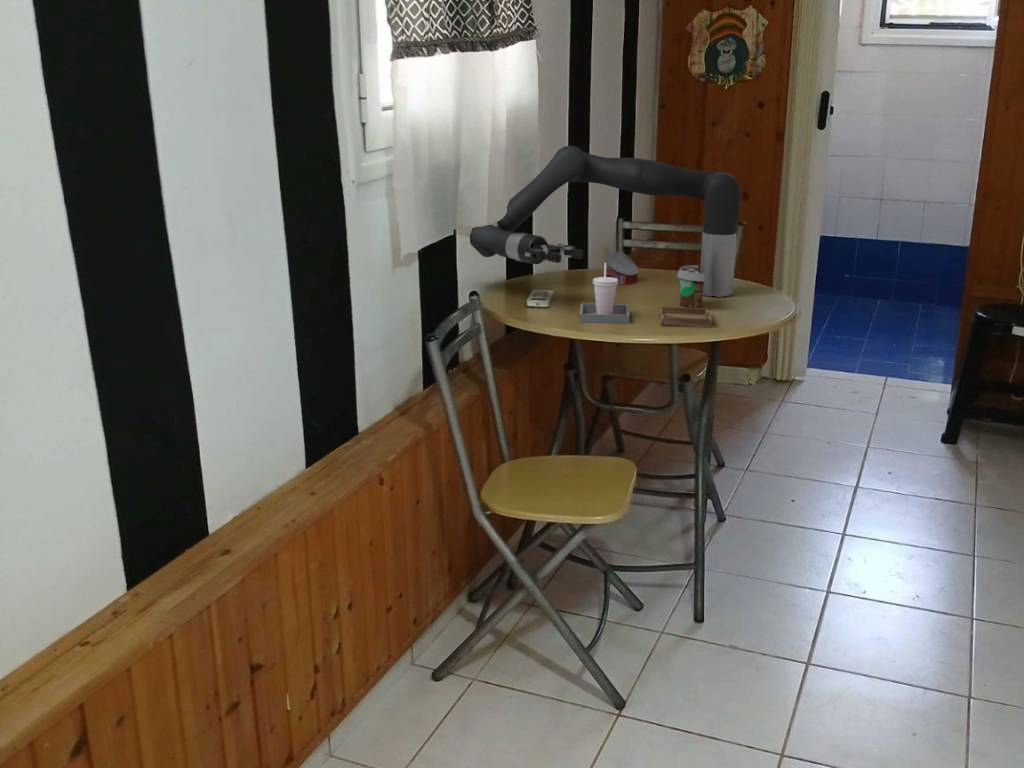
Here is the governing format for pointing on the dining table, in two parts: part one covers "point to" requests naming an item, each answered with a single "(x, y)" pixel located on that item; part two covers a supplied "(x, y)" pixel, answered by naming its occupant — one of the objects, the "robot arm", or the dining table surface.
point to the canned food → (622, 268)
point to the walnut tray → (685, 317)
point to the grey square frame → (604, 317)
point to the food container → (691, 286)
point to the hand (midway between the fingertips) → (571, 256)
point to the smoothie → (605, 293)
